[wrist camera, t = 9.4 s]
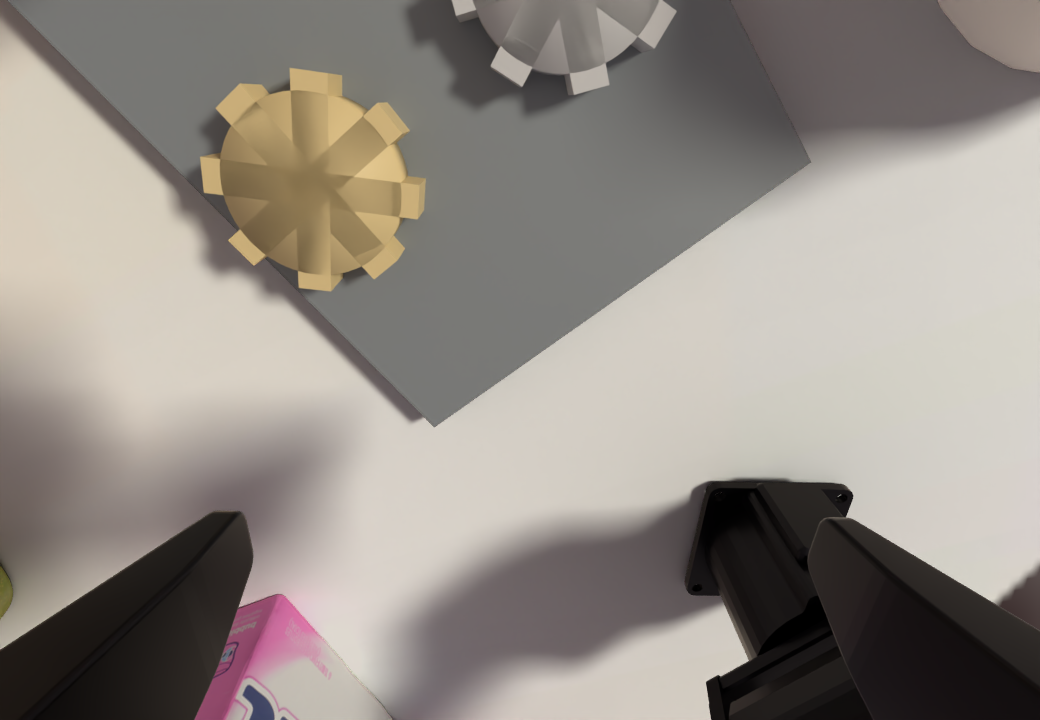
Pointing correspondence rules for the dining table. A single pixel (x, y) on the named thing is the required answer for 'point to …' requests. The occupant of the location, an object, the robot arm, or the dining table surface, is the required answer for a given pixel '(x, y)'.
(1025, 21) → the honey pot
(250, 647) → the gum box
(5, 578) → the plant pot
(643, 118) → the gear board
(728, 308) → the dining table surface
